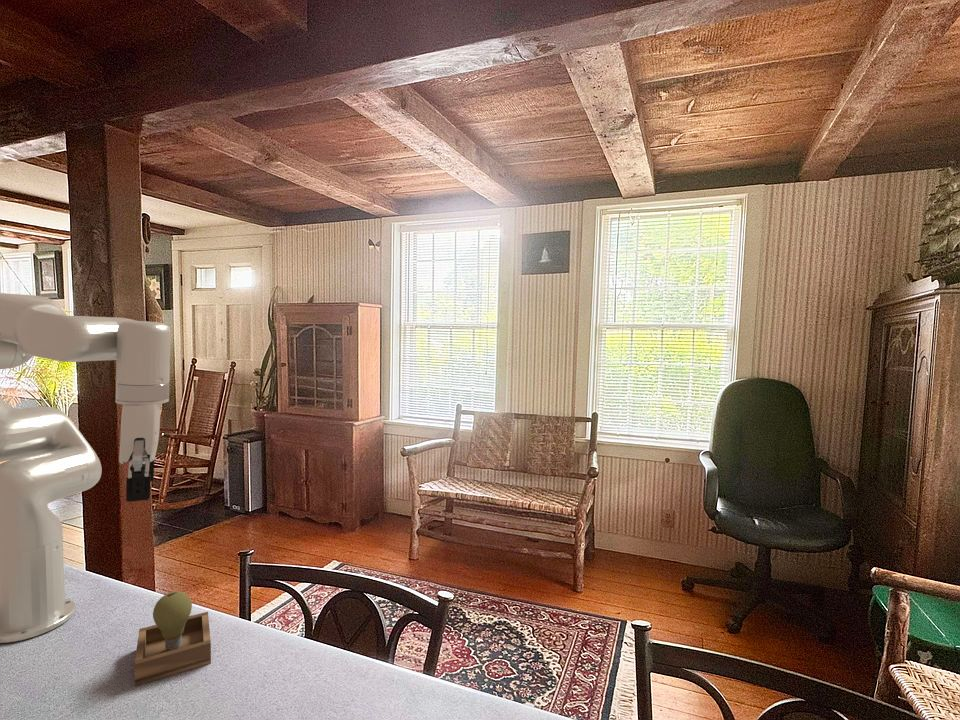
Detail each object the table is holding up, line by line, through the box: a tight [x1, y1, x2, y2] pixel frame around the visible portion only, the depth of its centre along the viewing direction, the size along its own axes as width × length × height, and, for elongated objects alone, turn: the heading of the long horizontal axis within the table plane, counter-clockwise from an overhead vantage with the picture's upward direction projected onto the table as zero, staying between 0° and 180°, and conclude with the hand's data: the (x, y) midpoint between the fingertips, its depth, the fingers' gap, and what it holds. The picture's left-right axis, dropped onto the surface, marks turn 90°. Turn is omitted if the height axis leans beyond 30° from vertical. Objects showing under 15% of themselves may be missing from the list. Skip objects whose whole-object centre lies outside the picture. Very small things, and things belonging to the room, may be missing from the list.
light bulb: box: [152, 590, 193, 651], centre depth 82 cm, size 6×6×10 cm
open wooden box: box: [133, 611, 212, 687], centre depth 82 cm, size 10×10×4 cm
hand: (140, 490), depth 83 cm, fingers open, 9 cm apart
